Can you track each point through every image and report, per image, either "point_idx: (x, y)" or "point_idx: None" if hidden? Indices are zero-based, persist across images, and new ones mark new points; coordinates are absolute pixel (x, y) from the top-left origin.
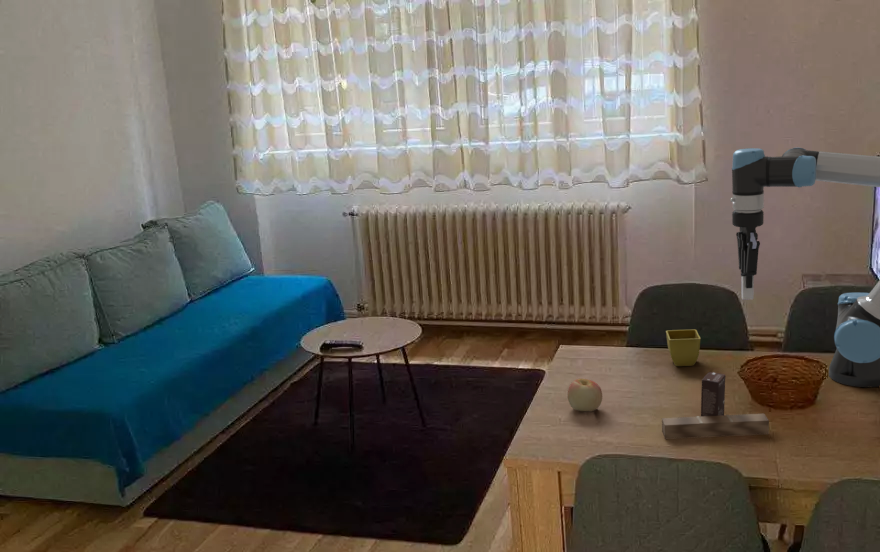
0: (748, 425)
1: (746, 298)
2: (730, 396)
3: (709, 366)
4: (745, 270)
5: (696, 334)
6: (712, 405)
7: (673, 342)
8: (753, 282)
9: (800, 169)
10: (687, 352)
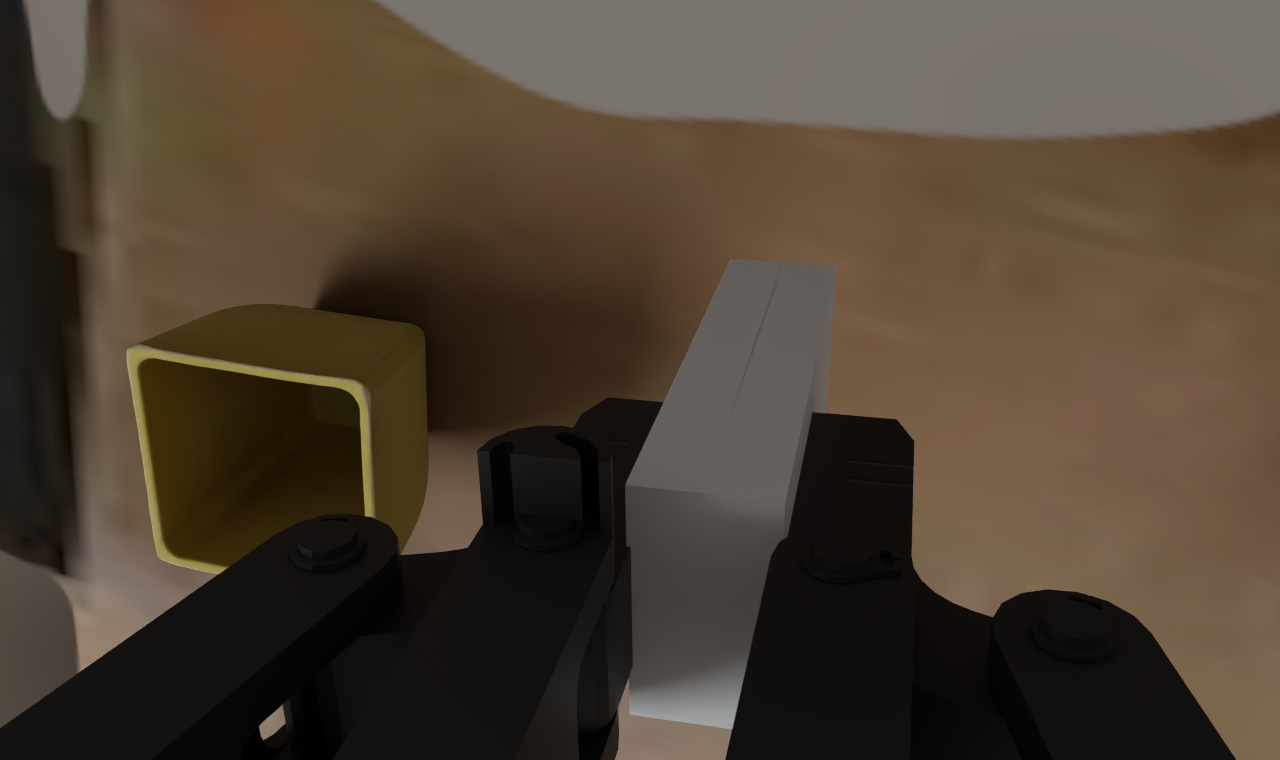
0: None
1: (827, 393)
2: (1044, 247)
3: (430, 219)
4: None
5: (227, 366)
6: None
7: None
8: (807, 413)
9: None
10: (411, 425)
